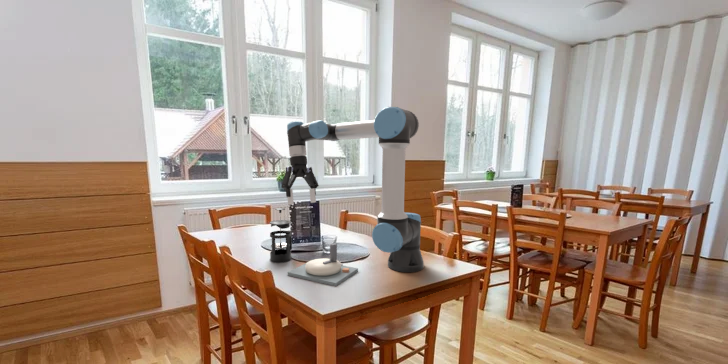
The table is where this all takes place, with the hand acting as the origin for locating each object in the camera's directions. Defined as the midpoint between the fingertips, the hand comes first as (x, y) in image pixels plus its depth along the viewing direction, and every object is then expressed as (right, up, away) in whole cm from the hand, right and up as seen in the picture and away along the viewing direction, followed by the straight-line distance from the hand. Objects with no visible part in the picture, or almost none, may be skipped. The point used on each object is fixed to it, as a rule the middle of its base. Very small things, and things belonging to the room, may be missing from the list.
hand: (302, 203), depth 146 cm
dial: (+11, -25, -16) cm, 32 cm away
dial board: (+11, -27, -16) cm, 33 cm away
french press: (-10, -25, +1) cm, 27 cm away
